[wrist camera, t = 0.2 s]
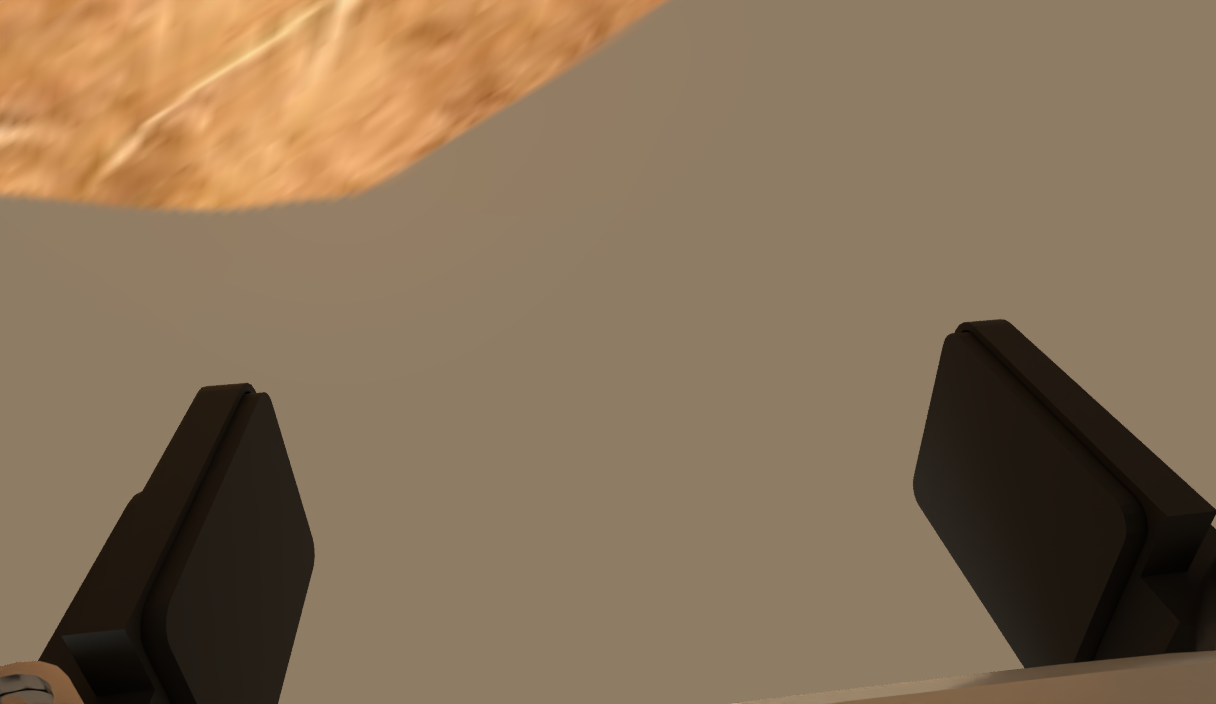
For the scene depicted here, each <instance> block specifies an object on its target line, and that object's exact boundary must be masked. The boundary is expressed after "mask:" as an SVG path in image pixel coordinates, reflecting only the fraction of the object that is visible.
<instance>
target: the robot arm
mask: <svg viewBox="0 0 1216 704" xmlns="http://www.w3.org/2000/svg"><path fill="white" fill-rule="evenodd" d="M913 490H914V495H915V498H916V501H917V503H918V505H919V506H920V508H921V509H922V511H923V512H924V514H925V516H926V517H927V519H928V520H929V522H930V523H931V525H932V526H933V528H934V529H935V531H936V533H937V534H938V536H939V537H940V539H941V540H942V542H943V543H944V545H945V546H946V548H947V549H948V551H949V553H950V554H951V556H952V557H953V559H954V560H955V562H956V563H957V565H958V566H959V568H960V569H961V571H962V572H963V574H964V576H965V577H966V579H967V580H968V582H969V583H970V585H971V586H972V588H973V589H974V591H975V593H976V594H977V596H978V597H979V599H980V600H981V602H982V603H983V605H984V606H985V608H986V609H987V611H988V613H989V614H990V615H991V617H992V619H993V620H994V622H995V623H996V625H997V626H998V628H999V629H1000V631H1001V632H1002V634H1003V636H1004V637H1005V639H1006V640H1007V642H1008V643H1009V645H1010V646H1011V648H1012V649H1013V651H1014V652H1015V654H1016V656H1017V657H1018V659H1019V660H1020V662H1021V663H1022V665H1023V666H1024V669H1016V670H1007V671H998V672H990V673H982V674H973V675H965V676H956V677H947V678H939V679H931V680H921V681H913V682H905V683H896V684H887V685H879V686H870V687H862V688H853V689H846V690H838V691H829V692H821V693H812V694H804V695H797V696H788V697H779V698H771V699H763V700H755V701H747V702H738V703H730V704H1216V529H1215V528H1214V527H1213V526H1212V525H1211V523H1212V521H1213V519H1214V517H1215V515H1216V509H1215V508H1213V507H1212V506H1211V505H1210V504H1209V503H1208V502H1207V501H1206V500H1205V499H1204V498H1202V497H1201V496H1200V495H1199V494H1198V493H1197V492H1196V491H1195V490H1194V489H1192V488H1191V487H1190V486H1189V485H1188V484H1187V483H1186V482H1185V481H1184V480H1183V479H1181V478H1180V477H1179V476H1178V475H1177V474H1176V473H1175V472H1174V471H1173V470H1172V469H1170V468H1169V467H1168V466H1167V465H1166V464H1165V463H1164V462H1163V461H1162V460H1161V459H1160V458H1158V457H1157V456H1156V455H1155V454H1154V453H1153V452H1152V451H1151V450H1150V449H1149V448H1147V447H1146V446H1145V445H1144V444H1143V443H1142V442H1141V441H1140V440H1139V439H1137V438H1136V437H1135V436H1134V435H1133V434H1132V433H1131V432H1130V431H1129V430H1128V429H1126V428H1125V427H1124V426H1123V425H1122V424H1121V423H1120V422H1119V421H1118V420H1117V419H1115V418H1114V417H1113V416H1112V415H1111V414H1110V413H1109V412H1108V411H1107V410H1106V409H1104V408H1103V407H1102V406H1101V405H1100V404H1099V403H1098V402H1097V401H1096V400H1094V399H1093V398H1092V397H1091V396H1090V395H1089V394H1088V393H1087V392H1086V391H1085V390H1083V389H1082V388H1081V387H1080V386H1079V385H1078V384H1077V383H1076V382H1075V381H1074V380H1072V379H1071V378H1070V377H1069V376H1068V375H1067V374H1066V373H1065V372H1064V371H1063V370H1061V369H1060V368H1059V367H1058V366H1057V365H1056V364H1055V363H1054V362H1053V361H1051V359H1049V358H1048V357H1047V356H1046V355H1045V354H1044V353H1043V352H1042V351H1041V350H1039V349H1038V348H1037V347H1036V346H1035V345H1034V344H1033V343H1032V342H1031V341H1029V340H1028V339H1027V338H1026V337H1025V336H1024V335H1023V334H1022V333H1021V332H1020V331H1019V330H1017V329H1016V328H1015V327H1014V326H1013V325H1012V324H1011V323H1009V322H1008V321H1006V320H1001V319H999V320H986V321H974V322H964V323H962V324H960V325H959V326H958V328H957V329H956V331H955V333H952V334H949V335H948V336H947V337H946V338H945V341H944V344H943V348H942V352H941V357H940V361H939V366H938V370H937V375H936V379H935V384H934V388H933V393H932V397H931V402H930V406H929V411H928V415H927V420H926V424H925V429H924V433H923V438H922V442H921V447H920V451H919V455H918V460H917V464H916V469H915V474H914V479H913ZM314 556H315V554H314V543H313V538H312V535H311V531H310V528H309V525H308V521H307V518H306V515H305V511H304V508H303V505H302V501H301V498H300V495H299V492H298V488H297V485H296V481H295V478H294V475H293V471H292V468H291V465H290V461H289V458H288V455H287V452H286V448H285V445H284V441H283V438H282V435H281V431H280V428H279V425H278V421H277V418H276V415H275V411H274V408H273V405H272V402H271V399H270V397H269V395H268V394H267V393H265V392H263V393H256V392H255V389H254V388H253V387H252V385H251V384H249V383H241V384H228V385H217V386H206V387H202V388H201V389H200V390H199V391H198V393H197V395H196V397H195V398H194V400H193V402H192V404H191V405H190V407H189V409H188V411H187V413H186V415H185V416H184V418H183V420H182V422H181V424H180V425H179V427H178V429H177V430H176V432H175V434H174V436H173V438H172V439H171V441H170V443H169V445H168V447H167V448H166V450H165V452H164V454H163V455H162V458H161V459H160V461H159V463H158V464H157V466H156V468H155V470H154V472H153V473H152V475H151V477H150V479H149V481H148V482H147V484H146V486H145V487H144V489H143V491H142V492H140V493H138V494H136V495H135V496H134V497H133V498H132V499H131V501H130V502H129V503H128V505H127V506H126V508H125V510H124V511H123V513H122V515H121V517H120V519H119V520H118V522H117V524H116V525H115V527H114V529H113V531H112V533H111V534H110V536H109V538H108V539H107V541H106V543H105V545H104V546H103V548H102V550H101V552H100V553H99V555H98V557H97V559H96V561H95V562H94V564H93V566H92V567H91V569H90V571H89V573H88V575H87V576H86V578H85V580H84V582H83V583H82V585H81V587H80V588H79V590H78V592H77V594H76V596H75V597H74V599H73V601H72V602H71V604H70V606H69V608H68V609H67V611H66V613H65V615H64V616H63V618H62V620H61V622H60V623H59V625H58V627H57V629H56V630H55V632H54V634H53V636H52V637H51V639H50V641H49V642H48V644H47V646H46V648H45V649H44V651H43V653H42V655H41V657H40V658H39V660H38V661H29V662H15V663H11V664H7V665H4V666H0V704H278V701H279V697H280V694H281V690H282V686H283V682H284V678H285V674H286V670H287V666H288V663H289V659H290V655H291V651H292V647H293V644H294V640H295V636H296V632H297V628H298V624H299V620H300V617H301V613H302V608H303V605H304V601H305V597H306V593H307V590H308V586H309V582H310V578H311V574H312V570H313V566H314Z"/></svg>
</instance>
